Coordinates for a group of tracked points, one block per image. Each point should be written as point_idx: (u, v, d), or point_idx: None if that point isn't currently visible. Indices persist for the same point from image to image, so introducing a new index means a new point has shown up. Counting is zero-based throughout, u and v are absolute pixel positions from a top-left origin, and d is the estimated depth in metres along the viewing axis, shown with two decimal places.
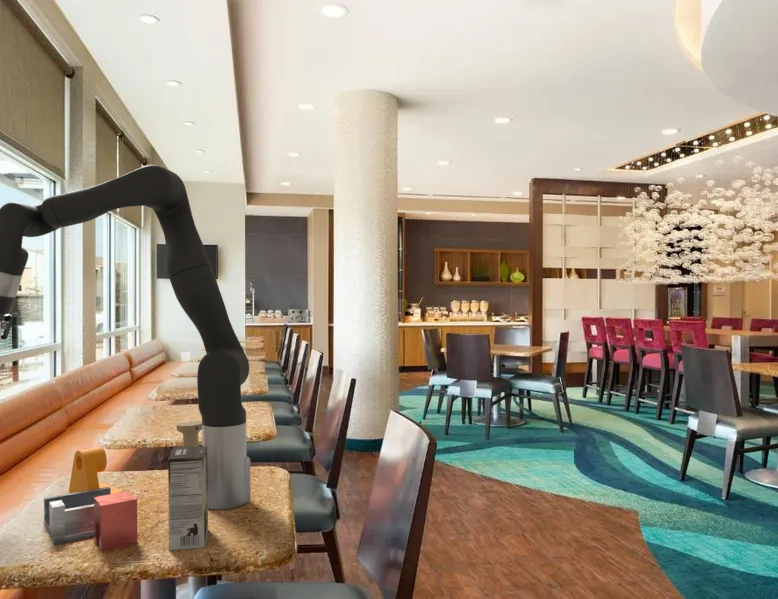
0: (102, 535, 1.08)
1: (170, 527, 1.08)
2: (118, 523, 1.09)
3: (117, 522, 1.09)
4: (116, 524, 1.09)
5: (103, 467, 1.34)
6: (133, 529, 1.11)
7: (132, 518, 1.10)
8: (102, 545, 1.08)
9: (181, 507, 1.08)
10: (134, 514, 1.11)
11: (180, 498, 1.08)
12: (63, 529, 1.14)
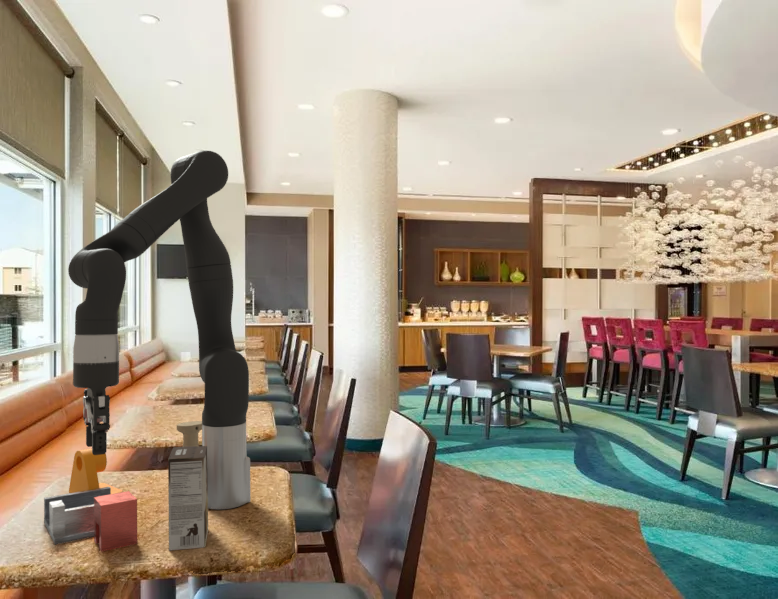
0: (102, 535, 1.08)
1: (170, 527, 1.08)
2: (118, 523, 1.09)
3: (117, 522, 1.09)
4: (116, 524, 1.09)
5: (103, 467, 1.34)
6: (133, 529, 1.11)
7: (132, 518, 1.10)
8: (102, 545, 1.08)
9: (181, 507, 1.08)
10: (134, 514, 1.11)
11: (180, 498, 1.08)
12: (63, 529, 1.14)
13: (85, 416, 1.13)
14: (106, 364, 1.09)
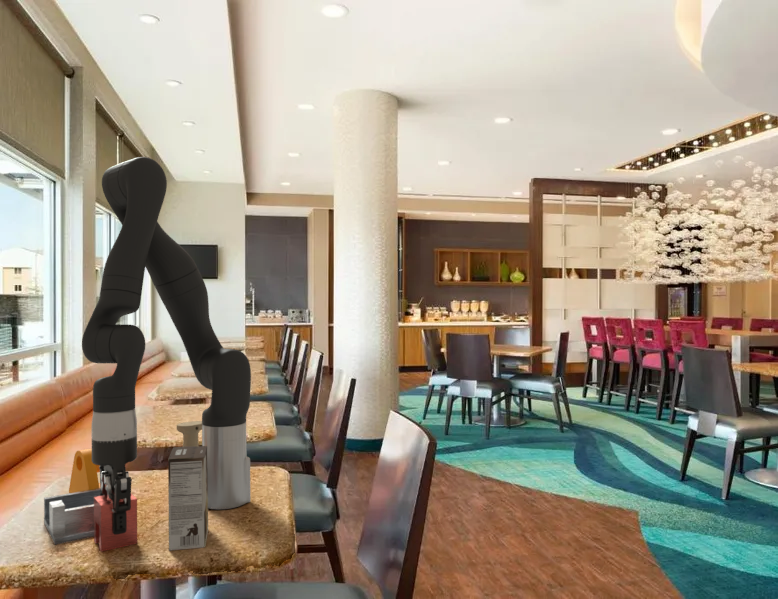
0: (102, 535, 1.08)
1: (170, 527, 1.08)
2: None
3: None
4: None
5: None
6: (133, 529, 1.11)
7: (132, 518, 1.10)
8: (102, 545, 1.08)
9: (181, 507, 1.08)
10: (134, 514, 1.11)
11: (180, 498, 1.08)
12: (63, 529, 1.14)
13: (103, 492, 1.13)
14: (125, 440, 1.09)
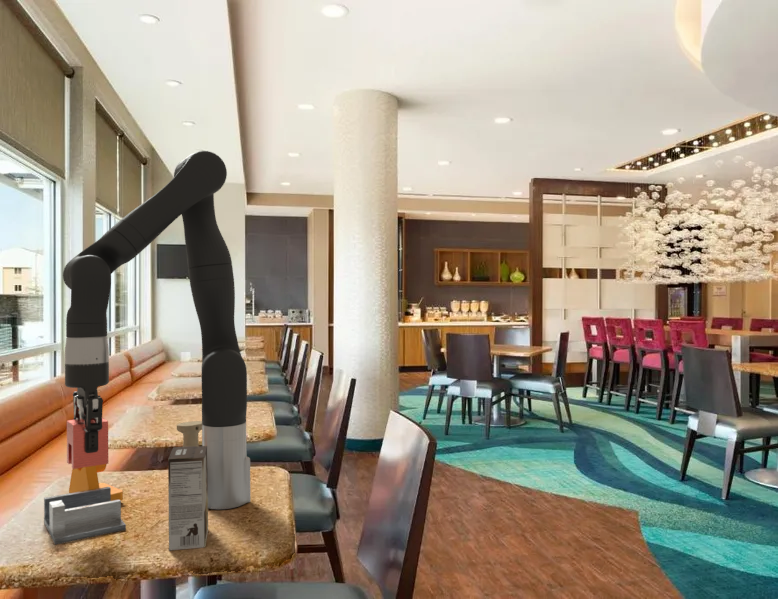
0: (74, 453, 1.13)
1: (170, 527, 1.08)
2: None
3: None
4: None
5: (103, 467, 1.34)
6: (104, 449, 1.16)
7: (103, 439, 1.16)
8: (74, 463, 1.13)
9: (181, 507, 1.08)
10: (105, 435, 1.17)
11: (180, 498, 1.08)
12: (63, 529, 1.14)
13: (76, 416, 1.18)
14: (97, 364, 1.15)
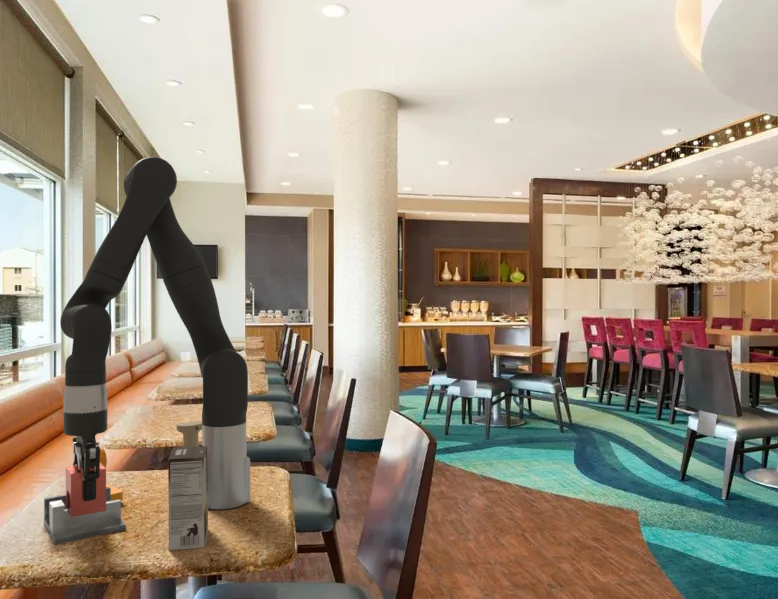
0: (72, 501, 1.14)
1: (170, 527, 1.08)
2: None
3: None
4: None
5: None
6: (102, 496, 1.17)
7: (101, 486, 1.17)
8: (72, 511, 1.14)
9: (181, 507, 1.08)
10: (103, 483, 1.17)
11: (180, 498, 1.08)
12: (63, 529, 1.14)
13: (75, 462, 1.19)
14: (95, 413, 1.16)
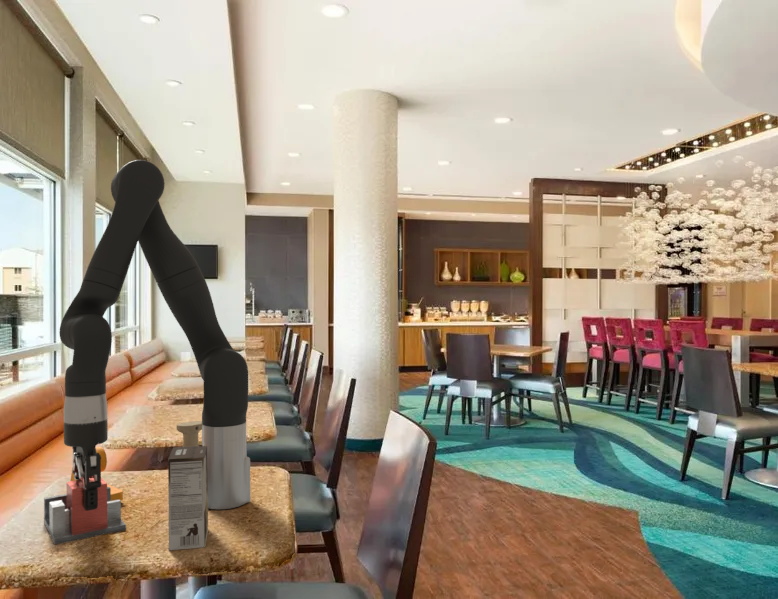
0: (73, 517, 1.14)
1: (170, 527, 1.08)
2: None
3: None
4: None
5: (103, 467, 1.34)
6: (103, 511, 1.17)
7: (102, 501, 1.17)
8: (73, 526, 1.14)
9: (181, 507, 1.08)
10: (104, 498, 1.17)
11: (180, 498, 1.08)
12: (63, 529, 1.14)
13: (75, 471, 1.20)
14: (95, 423, 1.16)
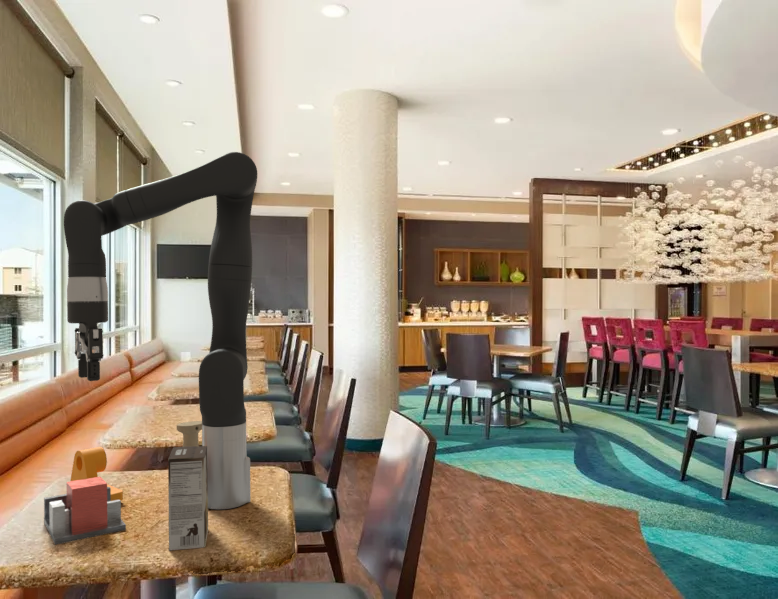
0: (73, 517, 1.14)
1: (170, 527, 1.08)
2: (89, 506, 1.15)
3: (88, 505, 1.15)
4: (87, 507, 1.15)
5: (103, 467, 1.34)
6: (103, 511, 1.17)
7: (102, 501, 1.17)
8: (73, 526, 1.14)
9: (181, 507, 1.08)
10: (104, 498, 1.17)
11: (180, 498, 1.08)
12: (63, 529, 1.14)
13: (78, 350, 1.28)
14: (97, 302, 1.24)
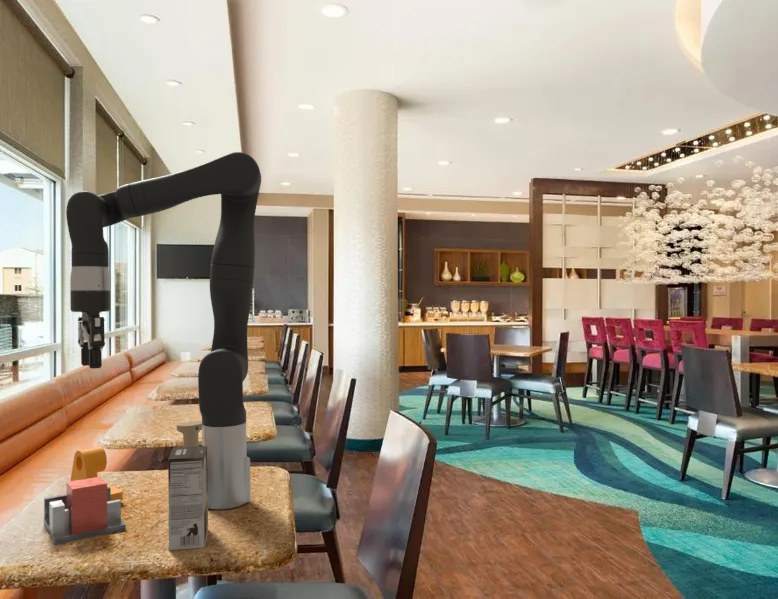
0: (73, 517, 1.14)
1: (170, 527, 1.08)
2: (89, 506, 1.15)
3: (88, 505, 1.15)
4: (87, 507, 1.15)
5: (103, 467, 1.34)
6: (103, 511, 1.17)
7: (102, 501, 1.17)
8: (73, 526, 1.14)
9: (181, 507, 1.08)
10: (104, 498, 1.17)
11: (180, 498, 1.08)
12: (63, 529, 1.14)
13: (80, 338, 1.30)
14: (99, 291, 1.27)
